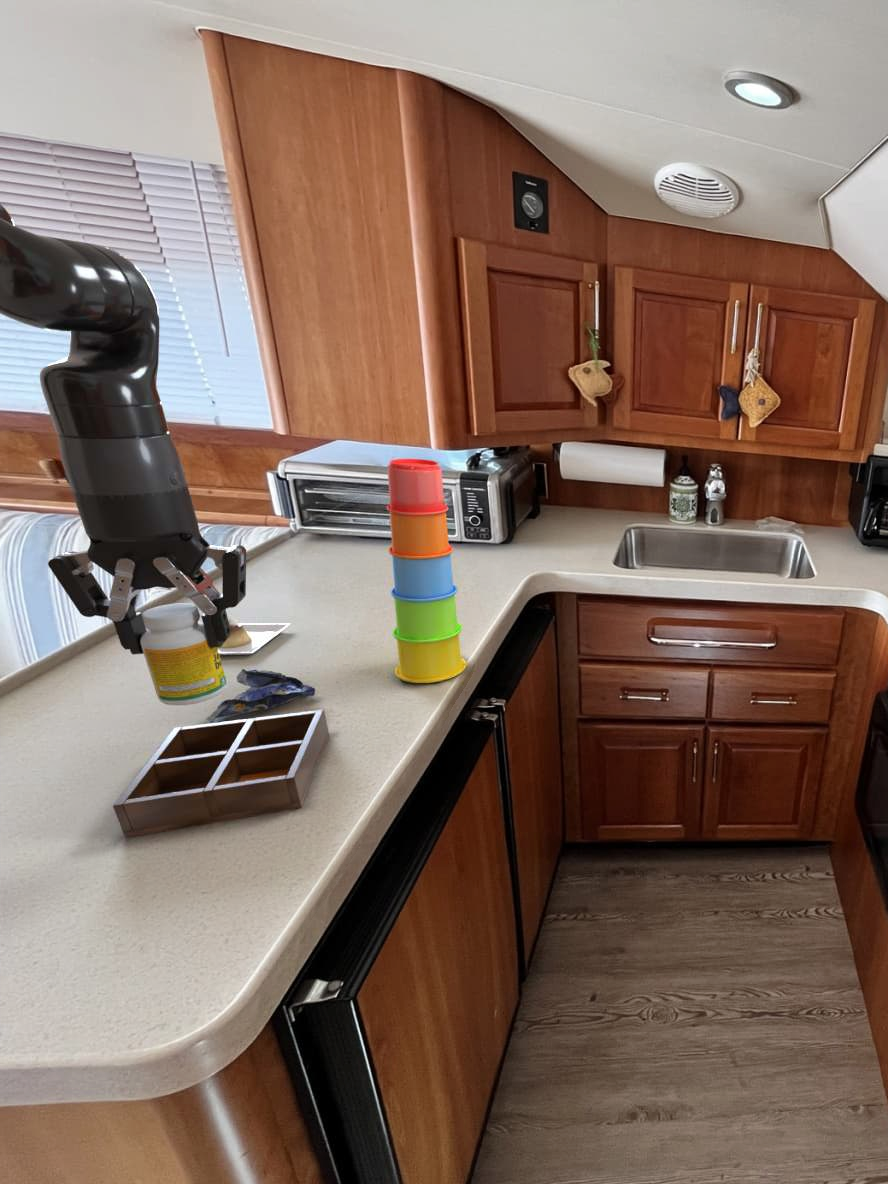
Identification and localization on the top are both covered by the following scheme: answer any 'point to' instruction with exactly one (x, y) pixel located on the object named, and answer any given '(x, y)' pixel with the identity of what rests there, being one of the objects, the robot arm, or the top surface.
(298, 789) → the compartment tray
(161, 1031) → the top surface
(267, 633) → the dessert
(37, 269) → the robot arm
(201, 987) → the top surface
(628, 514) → the top surface
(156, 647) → the supplement bottle
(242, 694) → the snack package
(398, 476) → the stacking cups
